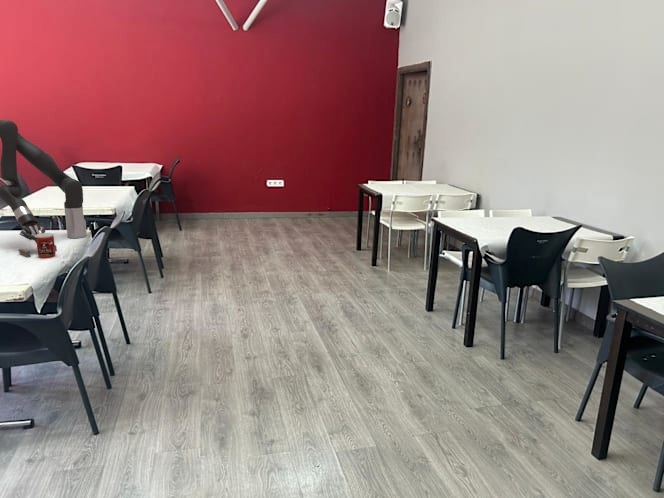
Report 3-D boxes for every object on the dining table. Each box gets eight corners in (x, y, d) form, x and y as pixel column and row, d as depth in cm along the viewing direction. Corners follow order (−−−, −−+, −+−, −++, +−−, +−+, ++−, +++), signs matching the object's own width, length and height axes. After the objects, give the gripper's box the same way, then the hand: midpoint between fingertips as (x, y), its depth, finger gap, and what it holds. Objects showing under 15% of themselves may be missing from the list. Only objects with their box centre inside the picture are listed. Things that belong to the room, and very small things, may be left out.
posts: (55, 250, 259) (54, 244, 258) (56, 251, 258) (56, 245, 258) (25, 256, 247) (24, 251, 246) (26, 257, 246) (26, 251, 245)
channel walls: (48, 248, 262) (47, 243, 261) (54, 250, 259) (54, 246, 258) (19, 254, 250) (18, 249, 250) (25, 256, 247) (25, 251, 247)
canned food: (36, 258, 245) (34, 237, 242) (39, 254, 252) (37, 233, 249) (54, 257, 247) (51, 236, 244) (57, 253, 255) (54, 232, 252)
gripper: (13, 215, 246) (29, 243, 244) (40, 211, 257) (56, 238, 254) (9, 223, 251) (25, 251, 248) (36, 219, 261) (51, 246, 258)
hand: (41, 244), depth 251 cm, fingers closed
